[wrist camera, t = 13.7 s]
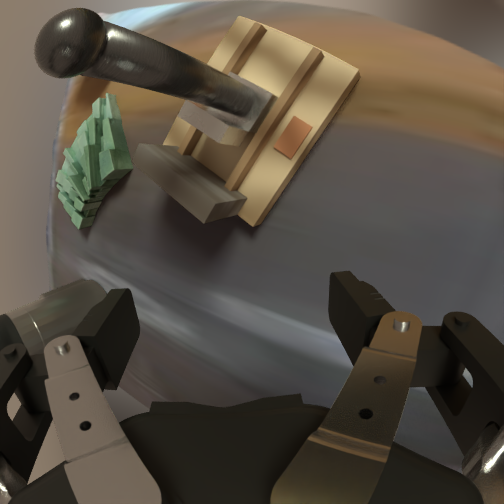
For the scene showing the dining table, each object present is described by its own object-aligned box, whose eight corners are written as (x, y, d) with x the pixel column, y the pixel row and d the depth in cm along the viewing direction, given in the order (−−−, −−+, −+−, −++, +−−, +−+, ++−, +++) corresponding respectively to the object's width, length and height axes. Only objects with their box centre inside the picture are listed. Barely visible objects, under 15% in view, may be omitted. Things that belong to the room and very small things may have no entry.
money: (107, 242, 43) (82, 249, 38) (61, 186, 45) (39, 189, 41) (158, 121, 34) (130, 118, 30) (98, 81, 37) (74, 77, 33)
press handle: (239, 77, 26) (44, -5, 7) (280, 99, 25) (81, -2, 6) (211, 123, 28) (3, 96, 10) (249, 148, 27) (27, 129, 9)
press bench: (247, 23, 26) (209, -9, 19) (360, 76, 23) (350, 42, 16) (169, 153, 34) (119, 152, 27) (260, 224, 31) (221, 239, 24)
